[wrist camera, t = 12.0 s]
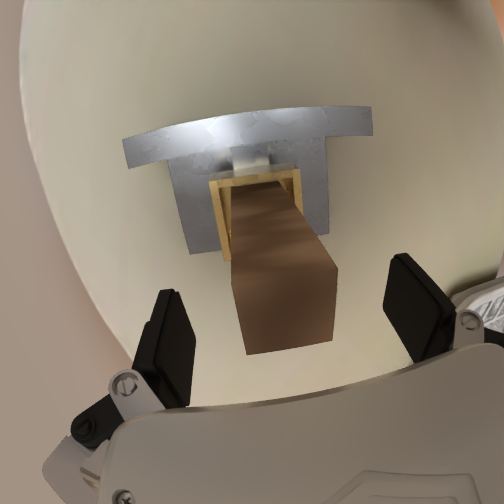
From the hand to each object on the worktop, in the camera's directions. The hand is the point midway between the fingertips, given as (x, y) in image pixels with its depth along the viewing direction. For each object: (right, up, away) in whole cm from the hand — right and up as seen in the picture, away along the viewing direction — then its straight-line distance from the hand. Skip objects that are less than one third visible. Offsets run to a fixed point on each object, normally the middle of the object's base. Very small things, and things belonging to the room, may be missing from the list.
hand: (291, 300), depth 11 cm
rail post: (-1, +6, +12) cm, 13 cm away
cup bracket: (-2, +10, +17) cm, 19 cm away
